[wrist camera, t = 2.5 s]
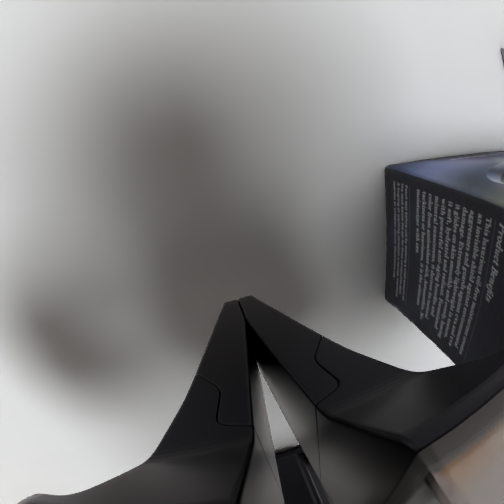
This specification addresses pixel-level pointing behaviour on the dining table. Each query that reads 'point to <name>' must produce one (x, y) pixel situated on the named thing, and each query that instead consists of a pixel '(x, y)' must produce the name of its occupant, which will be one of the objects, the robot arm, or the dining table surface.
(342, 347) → the robot arm
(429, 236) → the small box
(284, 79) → the dining table surface
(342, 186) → the dining table surface
